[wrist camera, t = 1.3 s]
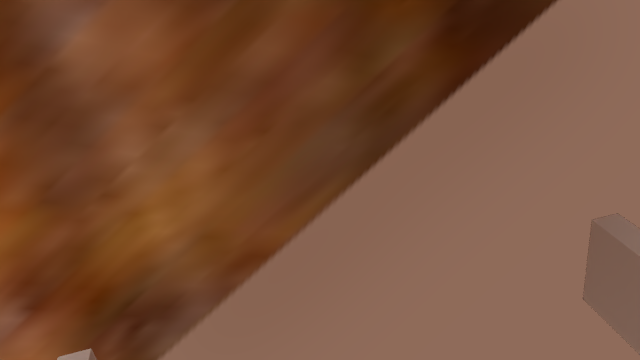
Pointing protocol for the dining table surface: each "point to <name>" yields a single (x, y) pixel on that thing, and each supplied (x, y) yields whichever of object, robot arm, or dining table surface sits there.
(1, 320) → the dining table surface
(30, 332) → the dining table surface
